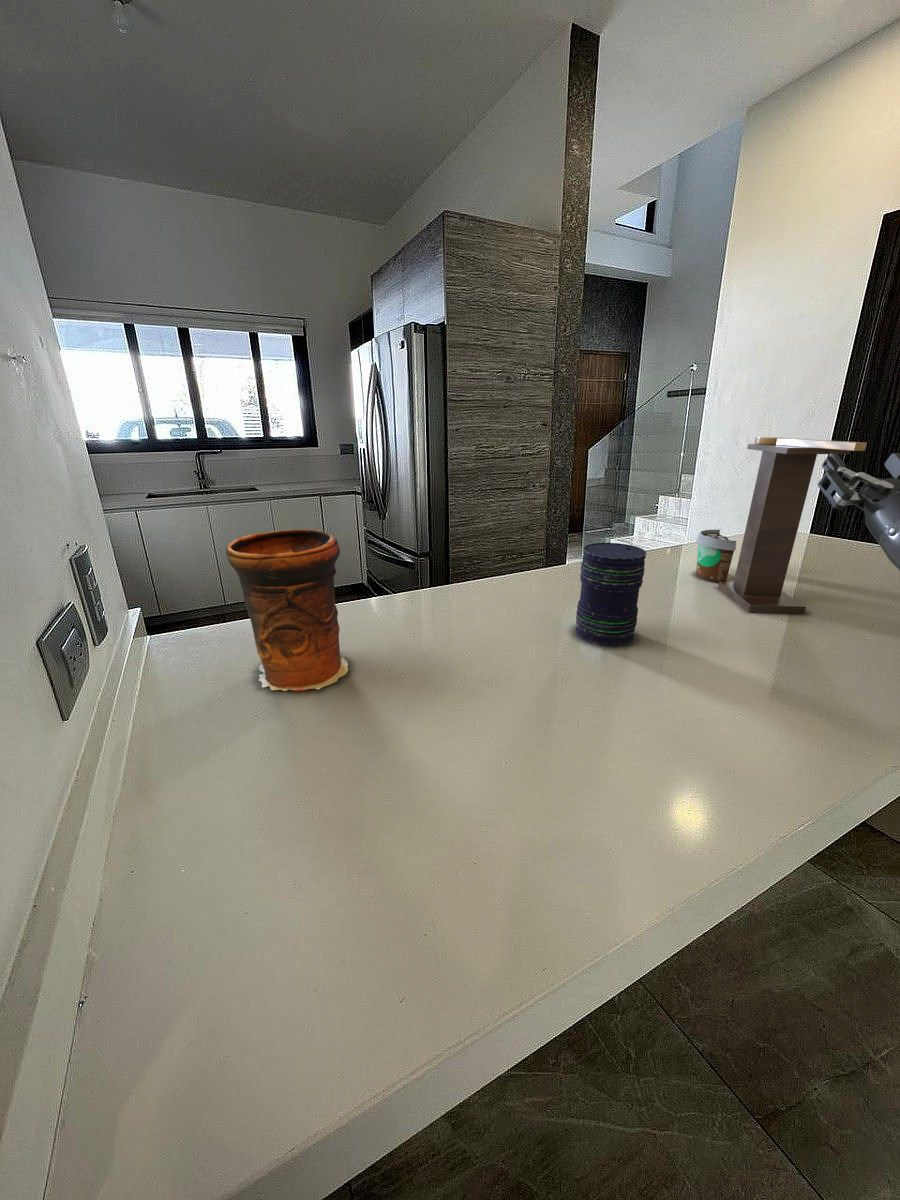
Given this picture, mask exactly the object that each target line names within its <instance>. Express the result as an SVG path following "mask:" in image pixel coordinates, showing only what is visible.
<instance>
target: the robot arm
mask: <svg viewBox="0 0 900 1200" xmlns="http://www.w3.org/2000/svg"><path fill="white" fill-rule="evenodd" d="M821 467H822V469H823V470H824V474H823V476H822V477H821V479H820V480H819V481H818V483H817V487H818V488H819V490H820V491H821V493H823V495H824V496H825V498H826V499H827V501H828V502H829V503H830V504H831V506H832V507H833V509H835V510H836V511H837V510H838V511H842V510H844V508H845V507H846V506H856V507H857V508H858V509H860V510H861V511H863V513H864V521H865V526H866V528H867V529H868V530H869V532H870V533H871V535H872V537H873V538H874V539H875V541H876V542H877V545H878V546H879V547H880V548H881V550H882V552H883V553H884V554H885V556H886V557H887V559H888V560H889V561H890V563H891V564H892V565H893V566H894V567H895V568H896V569H897V570H898V571H899V572H900V453H899V452H894V453H891V454H890V455H889V457H888V458H887V459H886V460H885V462H884V468H886V470H887V471H888V472H889V474H890V475H891V476H892V477H889V478H888V477H887V478H881V477H874V476H872V475H869V474H868V473H866V472H863V471H860V472H855V471H853V470H852V469H849V468H848V467H847V466H846V464H845V462H844V461H843V459H841V457H840V456H839V454H837V453H830V454H827V457H825V459H824V461H823V463H822V464H821ZM844 478H847V479H849V482H848V483H846V482H845V481H844V480H843V479H844ZM860 482H862V483H863V485H862V487H861V488H860V490H859V491H858V492H857V491H856V488H857V486H858V485H859V484H860Z"/></svg>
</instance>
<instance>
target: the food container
mask: <svg viewBox="0 0 900 1200" xmlns="http://www.w3.org/2000/svg"><path fill="white" fill-rule="evenodd" d="M720 533H721V529H704V530H701V531H700V533H699V534H698V535H697V537H696V539H695V542H696V543H697V544H698V548H697V558H696V568H695V576H696V577H697V578H698V579H701V580H703V581H707V582H711V583H716V584H719V582H727V581H728V576H729V573H730V568H731V564H732V562H733V561H732V560H733V556H734V552H736V549H737V540H731V539H729V538H728V537H727V536H725V535H722V534H720Z"/></svg>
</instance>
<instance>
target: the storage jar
mask: <svg viewBox="0 0 900 1200" xmlns="http://www.w3.org/2000/svg"><path fill="white" fill-rule="evenodd" d="M582 554H583V555H582V559H581V560H582V561H581V562H580V563H581V564H580V575H579V577H580V579H579V581H580V582H581V583H580V584H581V585H580V594H579V600H578V601H577V606H576V608H577V609H576V613H575V619H576V621H575V623H576V626H575V630H574V631H575V635H576V636H577V638H579V640H582V641H584V642H586V643H589V644H591V645H595V646H600V647H611V648H614V647H615V648H616V647H624V646H627V645H630V644H631V643H632V642H633V641H634V638H635V633H634V632H635V631H636V626H637V623H638V613H639V607H638V601H639V595H640V589H641V587H642V585H643V582H644V580H643V578H644V576H645V565H646V557H647V551H646V550H645V549H643V548H641V547H639V546H636V545H632V544H626V543H619V542H618V543H617V542H596V543H595V542H594V543H589V544H586V545H585V546H584V547H583V551H582Z"/></svg>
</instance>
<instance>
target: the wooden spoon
mask: <svg viewBox="0 0 900 1200" xmlns="http://www.w3.org/2000/svg"><path fill="white" fill-rule="evenodd" d="M754 444H764V445H783V446H796V447H810V448H823V449H836V450H849V451H850V452H851V451H852V452H865V451H866V448H867V445H868V442H865V441H864V442H861V441H848V440H847V441H845V440H828V439H826V440H825V439H811V438H809V439H808V438H794V437H793V438H791V437H783V436H756V437H755V439H754Z"/></svg>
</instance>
